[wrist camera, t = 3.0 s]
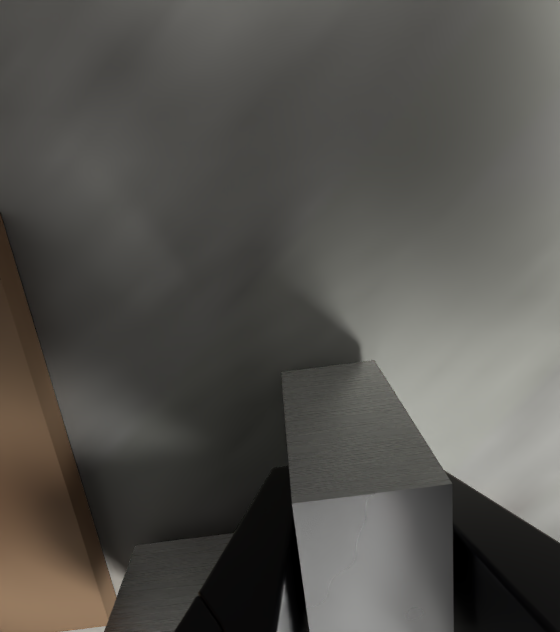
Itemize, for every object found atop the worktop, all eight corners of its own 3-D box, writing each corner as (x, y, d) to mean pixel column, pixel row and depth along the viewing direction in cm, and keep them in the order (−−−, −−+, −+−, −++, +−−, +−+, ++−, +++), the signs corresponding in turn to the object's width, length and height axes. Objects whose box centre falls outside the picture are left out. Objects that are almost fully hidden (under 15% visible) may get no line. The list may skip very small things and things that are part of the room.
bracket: (388, 579, 11) (455, 792, 7) (153, 608, 11) (91, 835, 7) (374, 360, 9) (452, 484, 5) (94, 395, 9) (-27, 543, 5)
